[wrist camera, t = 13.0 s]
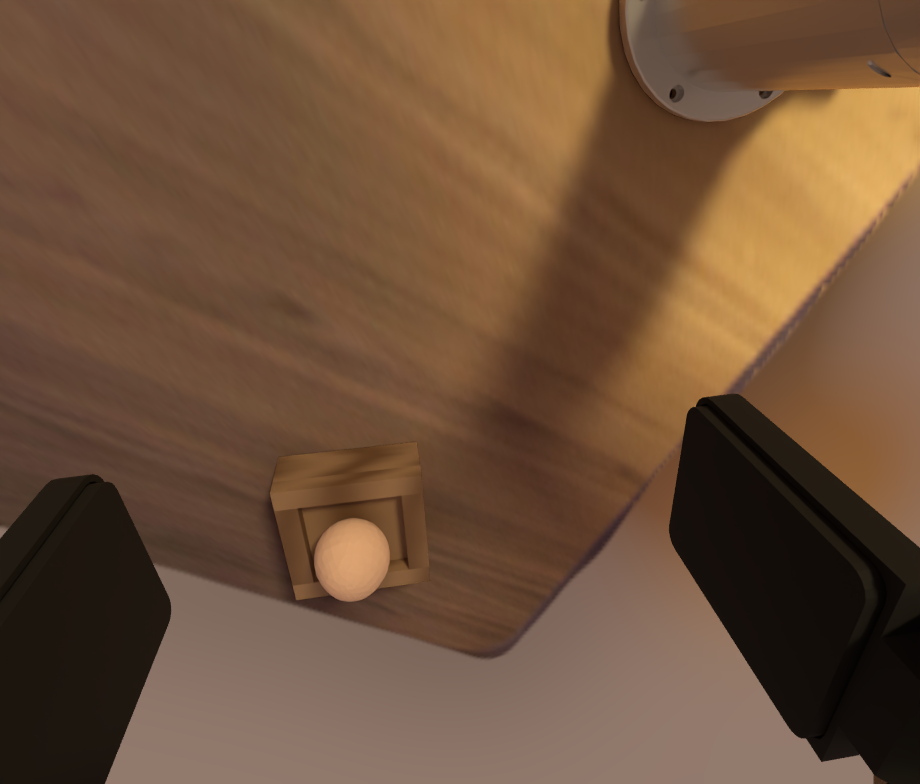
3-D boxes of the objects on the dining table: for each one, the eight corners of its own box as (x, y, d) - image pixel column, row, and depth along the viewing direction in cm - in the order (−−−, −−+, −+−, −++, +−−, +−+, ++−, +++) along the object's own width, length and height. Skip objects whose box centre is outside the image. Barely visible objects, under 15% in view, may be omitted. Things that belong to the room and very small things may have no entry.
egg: (366, 490, 38) (366, 551, 33) (400, 537, 41) (405, 600, 36) (303, 521, 39) (293, 586, 34) (341, 565, 41) (337, 631, 36)
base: (416, 441, 41) (421, 475, 37) (425, 542, 45) (430, 581, 42) (278, 457, 40) (269, 493, 36) (301, 558, 44) (296, 600, 41)
